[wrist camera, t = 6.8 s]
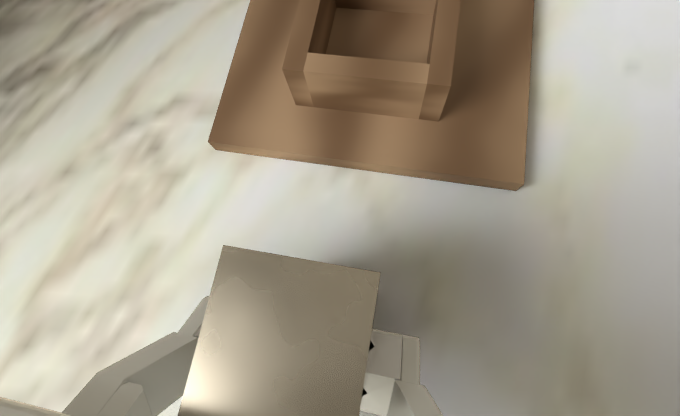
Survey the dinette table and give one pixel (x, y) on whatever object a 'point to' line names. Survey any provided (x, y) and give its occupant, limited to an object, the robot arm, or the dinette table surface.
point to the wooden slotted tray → (384, 87)
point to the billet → (282, 338)
